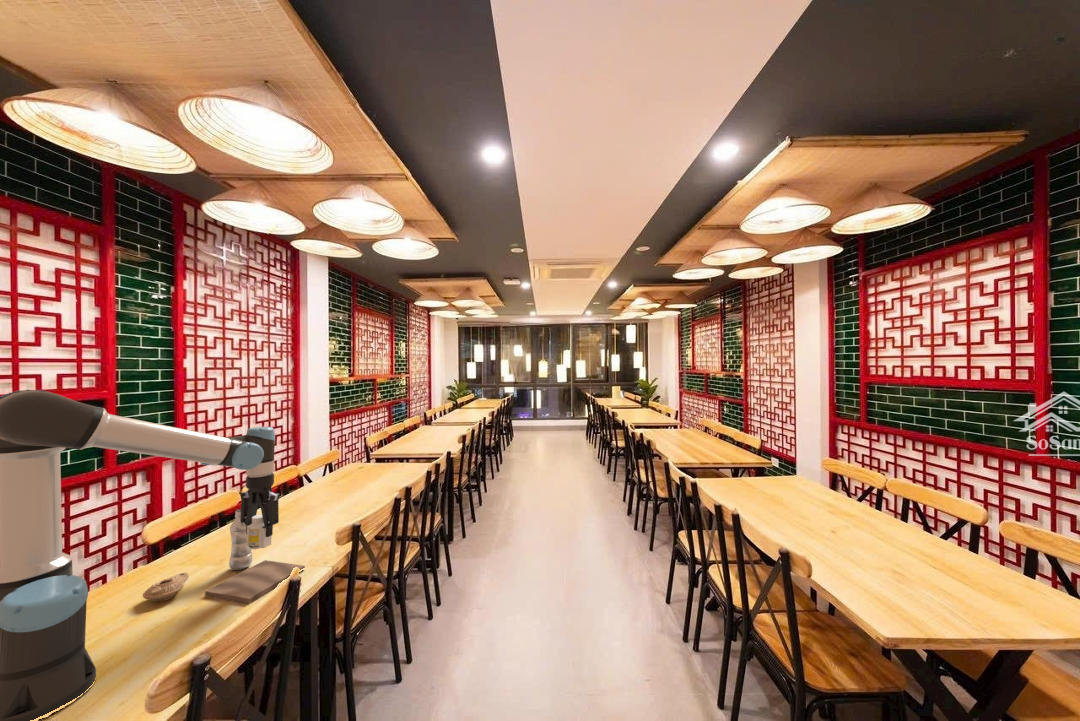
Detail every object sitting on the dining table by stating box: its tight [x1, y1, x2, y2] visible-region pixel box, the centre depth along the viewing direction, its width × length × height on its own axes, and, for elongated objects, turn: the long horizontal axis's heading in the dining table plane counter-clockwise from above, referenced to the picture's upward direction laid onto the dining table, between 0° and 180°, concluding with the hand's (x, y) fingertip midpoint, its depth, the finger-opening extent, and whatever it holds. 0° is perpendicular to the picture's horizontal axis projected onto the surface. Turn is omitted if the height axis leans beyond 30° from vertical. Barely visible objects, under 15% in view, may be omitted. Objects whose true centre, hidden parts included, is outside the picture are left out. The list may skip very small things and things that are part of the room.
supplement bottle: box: [249, 513, 269, 550], centre depth 126 cm, size 5×5×10 cm
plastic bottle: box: [228, 508, 253, 571], centre depth 135 cm, size 6×7×20 cm
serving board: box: [204, 559, 306, 605], centre depth 126 cm, size 20×17×2 cm
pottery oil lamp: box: [142, 572, 190, 602], centre depth 119 cm, size 9×12×7 cm
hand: (259, 545), depth 126 cm, fingers closed on supplement bottle, 5 cm apart
